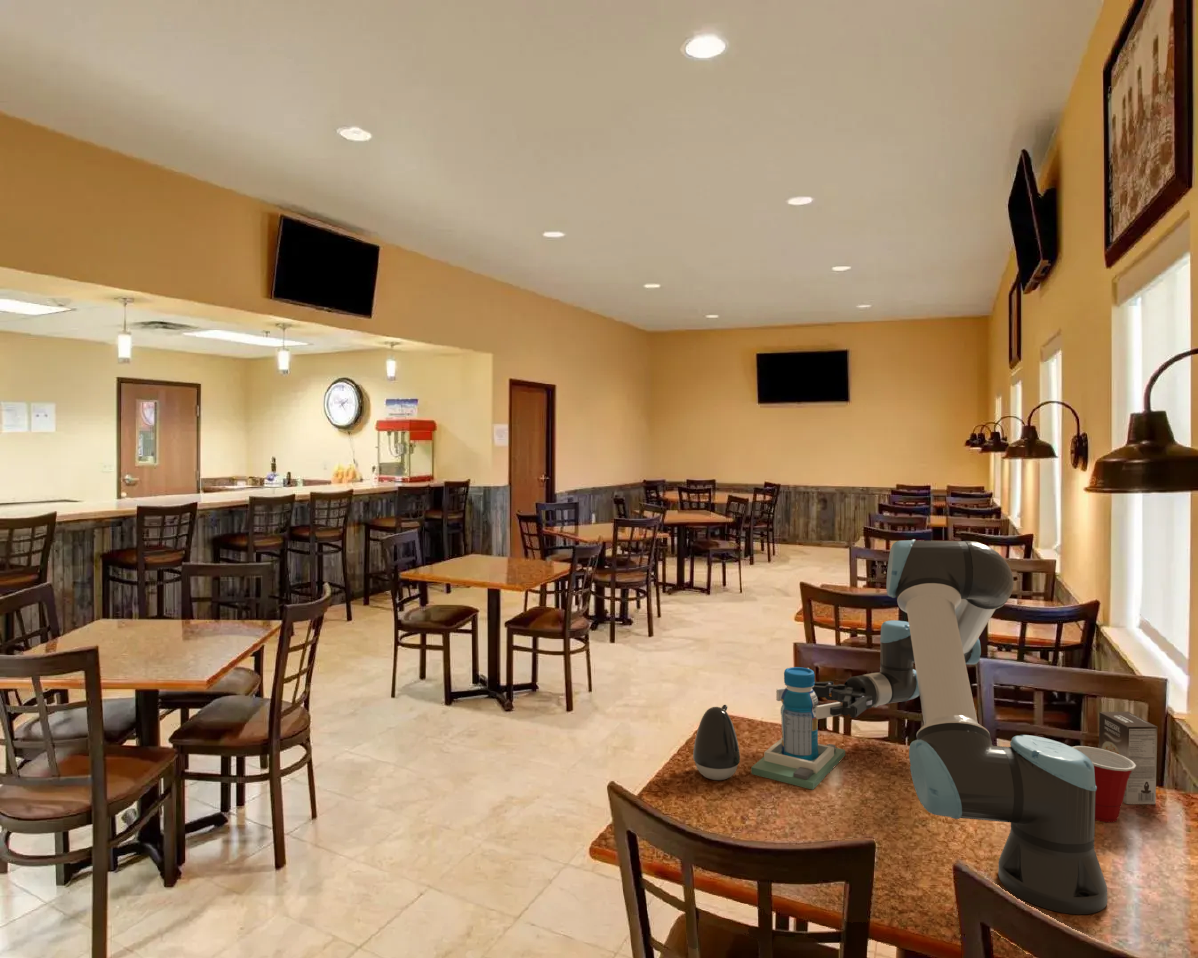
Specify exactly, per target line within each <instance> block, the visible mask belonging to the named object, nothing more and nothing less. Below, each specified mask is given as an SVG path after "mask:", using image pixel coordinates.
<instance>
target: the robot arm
mask: <svg viewBox="0 0 1198 958" xmlns="http://www.w3.org/2000/svg"><path fill="white" fill-rule="evenodd" d="M888 556H889V557H888V562H887V563H888V564H887V572H886V588H885V589H886V594H887V596H888V597H889V598H892V599H895V598H896V601H897V602H896V603H897V605H898V607H899V609H900V610H901V611H903V612H904V613H906V614H907V619H908V621H904V620H894V619H892V620H886V621H883V623H881V628H880V638H879V642H880V648H879V649H880V650H879V651H880V662H879V664H880V667H879V669H880V670H879V672H871V673H866V674H865V673H864V674H862V675H855V676H854V675H853V676H851V677H848V678H847V679H846V680H845V682H844V683H838V684H834V681H831V680H829V681H815V684H814V687H812V689H813V690H814V692H815V694H816V696H817V698H825V699H826V700H827V701H834V702H832V703H831V702H830V703H825V704H820V705H819V704H818V705H817V706H816V718H817V719H818V720H820V719H826V718H827V719H828V718H832V717H837V716H841V715H842V716H845V717H846V716H849V715H850V718H852V719H854V718H855V719H856V718H858V716H859V715H861V714H862V713H863V712H865V711H866V710H868V709H871V708H873V707H874V708H878V706H882V705H888V704H893V703H894V704H895V703H899V702H902V703H903V702H907V701H910V700H914V699H916V698H918V697H919V700H920V706H921V712H922V713H921V714H922V719H923V720H922V721H923V725H922V726H921V727H920V729H918V731H917V732H916V739H915V740H913V741H911V743H910V745H909V748H908V756H909V757H908V758H909V763H910V766H909V769H910V775H911V780H912V782H913V783H912V784H913V788H914V790H915V792H916V793H915V794H916V796H917V798H918V800H919V802H920V804H921V805H922V806H923V808H924V809H925V810H926V811H927V812H928V813H929V814H932V815H934V816H940V817H941V816H942V817H947V818H948V817H949V818H951V819H954V820H960V819H965V820H966V819H968V820H978V821H988V822H989V821H990V822H999V823H1010V831H1009V835H1008V836H1007V838H1006V841H1005V842H1004V846H1003V849H1002V851H1001V853H1000V855H999V860H998V871H997V873H998V879H999V881H1000V882H1001V884H1002V885H1003V886H1004V887H1005V889H1007V890H1008V891H1009V892H1011V893H1012V894H1014V895H1015V896H1016V897H1017V898H1020V899H1021V900H1024V901H1025V902H1028V903H1030V904H1032V905H1034V906H1037V907H1041V908H1043V909H1046V910H1050V911H1054V912H1058V913H1064V914H1070V915H1071V914H1072V915H1088V914H1095V913H1098V912H1100V911H1103V910H1104V909H1106V906H1107V904H1108V885H1107V882H1106V879H1105V876H1104V874H1103V871H1102V868H1101V865H1100V861H1099V860H1098V859H1099V858H1098V856H1097V853H1096V850H1095V836H1096V835H1095V829H1096V828H1095V825H1096V820H1095V791H1096V789H1097V787H1096V785H1095V772H1094V766H1093V763H1092V762H1091V760H1090V759H1089V758H1088V757H1087V756H1086V755H1085V754H1083V753H1082V752H1080V751H1078V750H1077V749H1075V748H1073V747H1074V746H1070V745H1067V744H1065V743H1063V742H1061V741H1057V740H1054V739H1050V738H1046V737H1043V736H1042V737H1041V736H1037V735H1029V734H1020V735H1015V736H1013V737H1012V738H1011V741H1010V744H1009V745H1010V746H1000V745H993V744H992V743H993V742H992V739H991V734H990V732H989V730H988V729H987V728H986V727H984V726H982V725H981V724H979V723H978V718H977V714H976V713H977V712H976V709H975V704H974V699H973V694H972V688H971V683H970V678H969V674H968V668H967V665H976V664H978V663H979V662H980V659H981V654H982V648H981V641H980V636H981V634H982V633H983V631H984V630H985V628H986V626H987V624H988V623H989V621H990V619H991V618H992V616H993V614H994V613H995V611H996V610H997V609H1000V608H1002V607H1003V606H1004V605H1005V604H1006V603H1007V602H1008V601H1009V599H1010V597H1011V595H1012V593H1013V591H1014V582H1015V581H1014V575H1013V572H1012V570H1011V567H1010V565H1009V564H1008V562H1007V561H1006V559H1005V558H1004V556H1002V555H1001V554H1000V553H999V552H998V551H996V550H995V549H994V548H992V547H990V546H989V545H986V544H983V543H982V542H978V541H971V540H963V541H962V540H961V541H960V540H916V539H914V538H913V539H911V540H909V539H908V540H905V539H904V540H896V541H895V542H894V543H893V544H892V545H891V547H890V551H889V555H888ZM914 664H915V665H914ZM914 666H915V669H914ZM786 687H787V686H785V687H780V688H776V693H775V694H776V697H775V698H776V701H777V702H782V701H781V697H782V694H783V692H784V690H785V688H786ZM830 695H831V696H830ZM835 701H836V702H835Z"/></svg>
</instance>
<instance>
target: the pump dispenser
mask: <svg viewBox="0 0 1198 958" xmlns="http://www.w3.org/2000/svg"><path fill="white" fill-rule="evenodd" d="M727 710H728V705H727V704H722V706H721V707H719V706H712V707H710V708H708V709H706V711H705V713H703V715H702V718H701V719H700V722H699V725H698V728H697V731H696V735H695V739H694V744H693V746H694V747H693V752H692V754H693V755H692V759H693V761H694V763H695V766H696V768H697V771H698V772H699V773H700V774H701V776H703V777H704V778H707V779H708V780H712V781H723V780H726V779H730V778H731V777H732V776H733V775H734V774H735V773H736V771H737V769H738V766H739V764H740V763H741V755H740V748H739V747H740V746H739V742H738V738H737V736H738V735H737V732H736V729H735V727H734V723H733V721H732V719H731V716H730V715H729V713H728V712H727Z"/></svg>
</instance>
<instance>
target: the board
mask: <svg viewBox="0 0 1198 958" xmlns="http://www.w3.org/2000/svg"><path fill="white" fill-rule="evenodd" d="M836 746H837V745H835V744H832V743H828V744H822V743H818V758H817V759H816V760H815V761H814V762H812V761H808V760H804V759H799V758H795V757H791V756H787V755H782V737H781V738H780V739H779V740H777V741H776V742H774V744H773V745H771V746H770V747H768V749H766V750H765V751H764V753H763V754H764V756H763V757H762V758H760V759H759V760H758V761H757V762H756V763H755V764H753V765H752V766H751V767H750V773H751V775H754V776H757V777H763V778H766V779H770V780H774V781H778V782H782V783H786V784H789V785H793V786H796V787H800V788H804V789H809V790H812V791H813V790H815V789H816V788H817V786H819V784H820V783H822V781H823V780H824V779H825V778H826V777H827V776H828V775H829V774H830V773H831V771H832V770H834V768H835V767H836V766H837V765H838V764H839V763H840V762H841V761H842V760H843V759H844V758H845V757H846V749H844V748H840V747H836ZM844 756H845V757H844ZM843 757H844V758H843ZM842 758H843V759H842ZM841 759H842V760H841ZM840 760H841V761H840ZM839 761H840V762H839ZM835 765H836V766H835ZM834 766H835V767H834ZM833 767H834V768H833ZM828 773H829V774H828ZM827 774H828V775H827ZM826 775H827V776H826ZM825 776H826V777H825Z"/></svg>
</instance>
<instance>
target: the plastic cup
mask: <svg viewBox="0 0 1198 958" xmlns="http://www.w3.org/2000/svg"><path fill="white" fill-rule="evenodd" d="M1072 747H1073V748H1075V749H1077V750H1078V751H1080V752H1082V753H1083V754H1085V755H1086V756H1087V757H1088V758H1089V759H1090V760H1091V762H1092V763H1093V766H1094V772H1095V785H1096V787H1097V789H1096V791H1095V821H1098V822H1102V823H1115V822H1117V821H1118V819H1119V817H1120V812H1121V808H1122V804H1123V803H1124V802H1123V798H1124V794H1125V790H1126V786H1127V781H1128V779H1129V776H1130V774H1131V771H1132V770H1133V769H1134V768H1135V767H1136V765H1135V763H1134V762H1133V761H1131V760H1130V759H1128V758H1126V757H1124V756H1122V755H1119V754H1116V753H1114V752H1110V751H1107V750H1103V749H1099V747H1092V746H1085V745H1075V746H1072Z"/></svg>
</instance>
